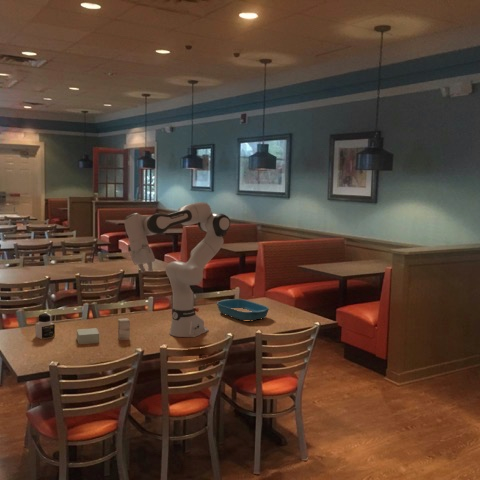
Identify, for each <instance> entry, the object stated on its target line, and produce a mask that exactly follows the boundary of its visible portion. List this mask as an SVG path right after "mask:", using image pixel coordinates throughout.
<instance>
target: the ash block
mask: <svg viewBox="0 0 480 480" xmlns="http://www.w3.org/2000/svg"><path fill="white" fill-rule="evenodd" d="M117 321H118V323H117V338H118V339H119V341H127V340H129V339H130V337H131V335H130V333H131V332H130V331H131V330H130V329H131V328H130V326H131V321H130V319H129V318H128V317H127V318H118V320H117Z"/></svg>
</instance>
